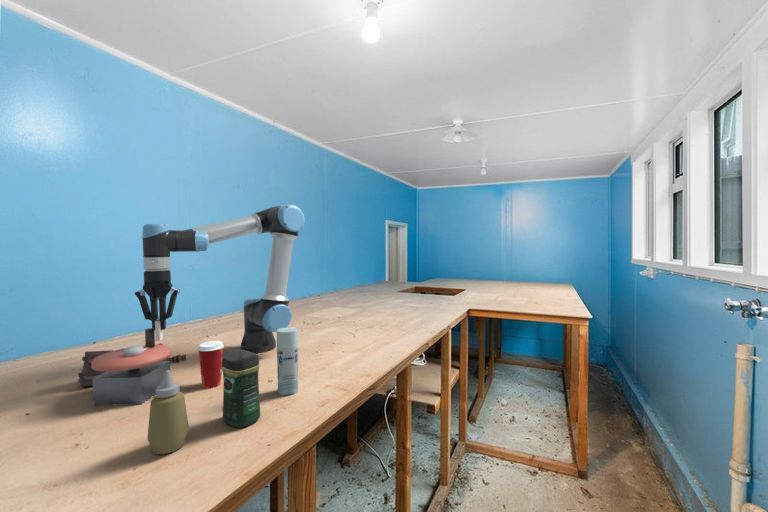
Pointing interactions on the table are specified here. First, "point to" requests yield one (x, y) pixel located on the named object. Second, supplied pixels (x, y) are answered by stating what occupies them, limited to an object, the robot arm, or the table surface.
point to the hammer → (89, 373)
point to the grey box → (128, 385)
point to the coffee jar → (240, 388)
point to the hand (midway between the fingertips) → (159, 339)
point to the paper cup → (211, 363)
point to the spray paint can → (287, 360)
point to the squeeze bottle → (167, 417)
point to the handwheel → (133, 356)
